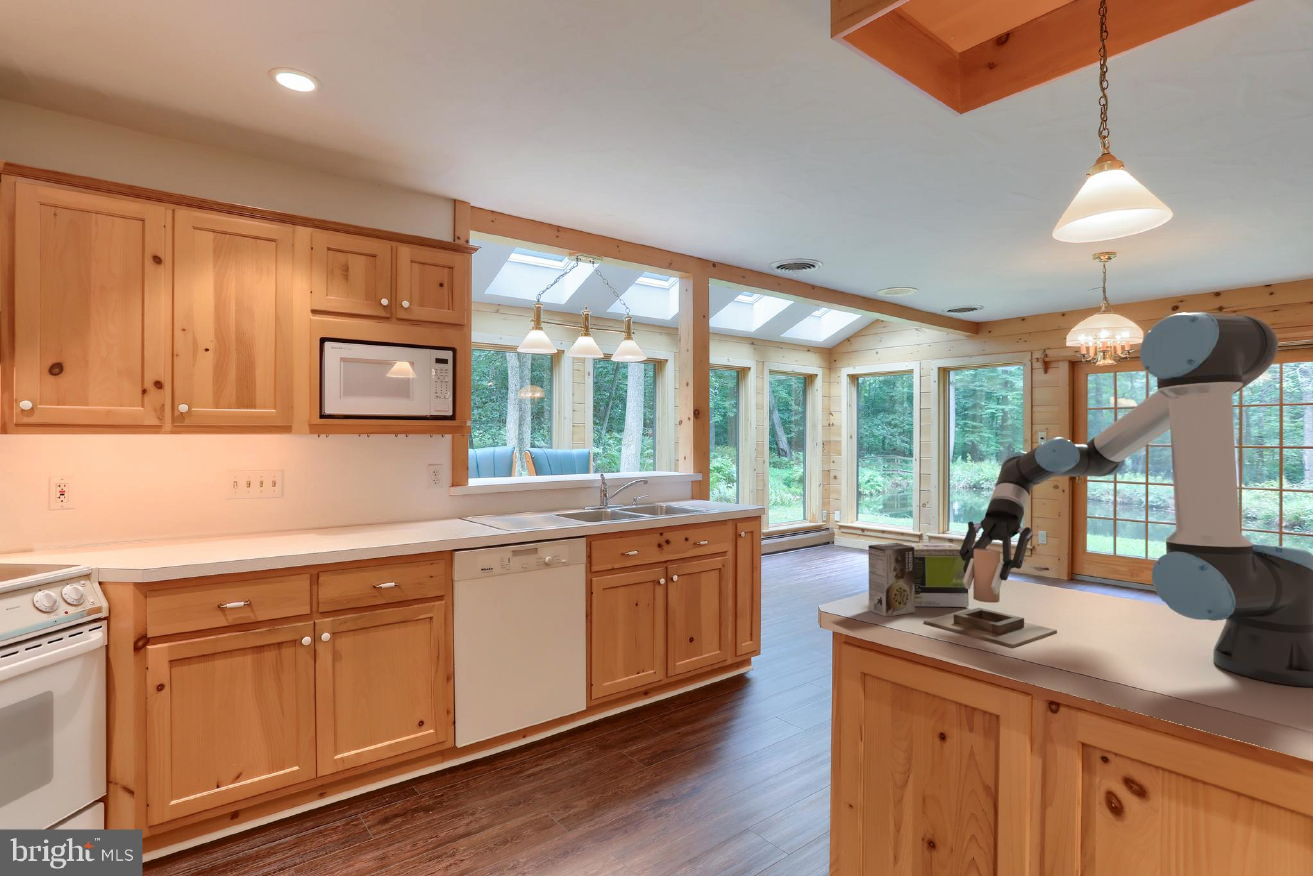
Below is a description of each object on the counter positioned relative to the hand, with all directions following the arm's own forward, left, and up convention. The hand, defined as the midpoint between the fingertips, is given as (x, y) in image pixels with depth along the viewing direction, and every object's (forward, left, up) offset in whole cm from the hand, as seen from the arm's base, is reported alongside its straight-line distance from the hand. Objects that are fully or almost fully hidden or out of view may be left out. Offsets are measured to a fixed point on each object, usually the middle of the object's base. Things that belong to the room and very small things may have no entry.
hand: (980, 587), depth 138 cm
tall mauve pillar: (+1, -4, -3) cm, 5 cm away
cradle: (0, -3, -9) cm, 10 cm away
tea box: (+20, -12, -10) cm, 25 cm away
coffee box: (+20, +4, -10) cm, 23 cm away
